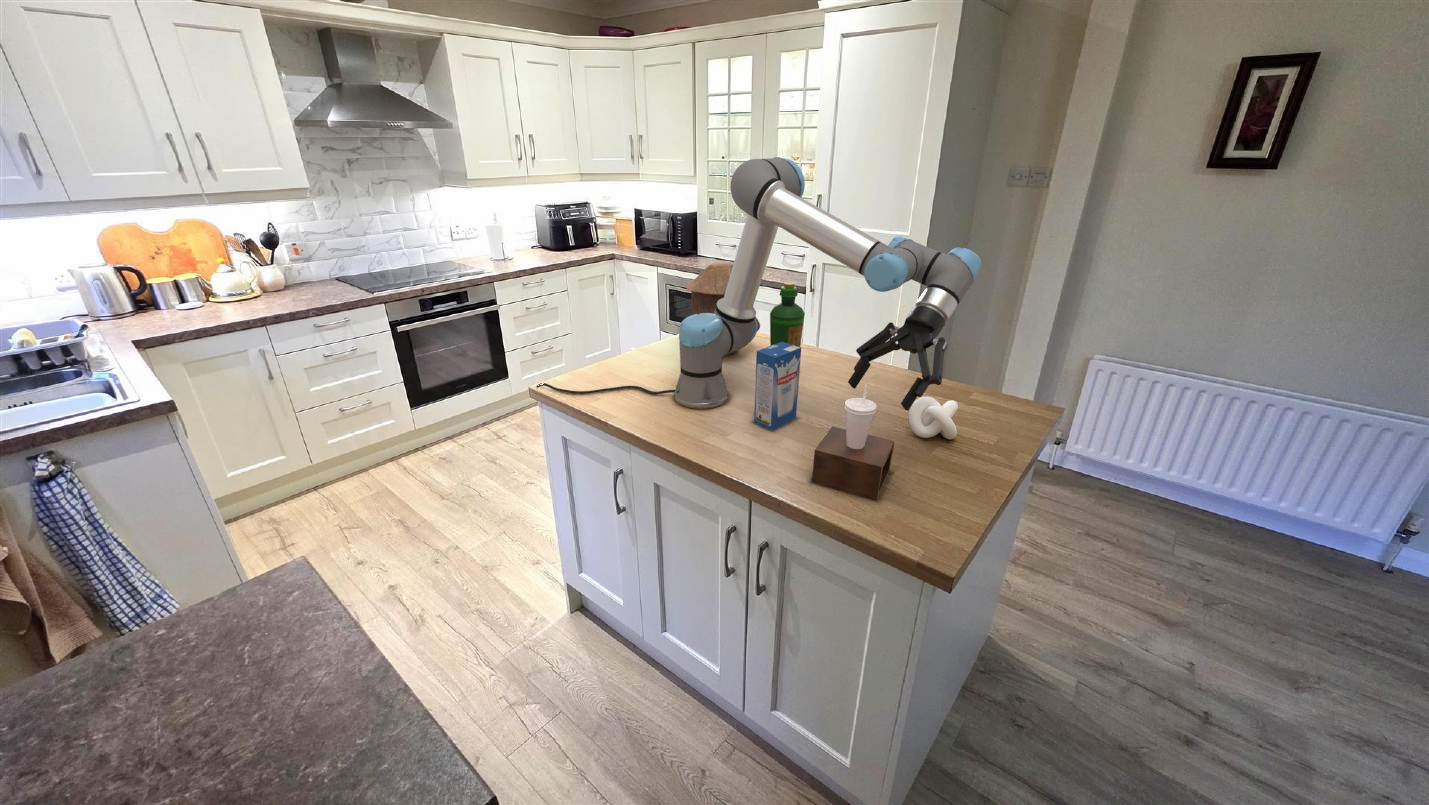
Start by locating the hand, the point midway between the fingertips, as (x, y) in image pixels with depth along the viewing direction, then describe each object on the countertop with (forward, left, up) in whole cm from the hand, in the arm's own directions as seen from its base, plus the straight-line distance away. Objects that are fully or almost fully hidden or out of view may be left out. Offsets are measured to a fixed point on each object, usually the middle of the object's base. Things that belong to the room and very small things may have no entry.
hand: (876, 396), depth 116 cm
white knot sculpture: (+11, +25, -18) cm, 33 cm away
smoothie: (-2, -5, -10) cm, 11 cm away
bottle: (-38, +46, -18) cm, 63 cm away
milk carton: (-27, +12, -18) cm, 35 cm away
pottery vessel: (-64, +53, -18) cm, 85 cm away
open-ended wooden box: (-2, -5, -18) cm, 19 cm away
